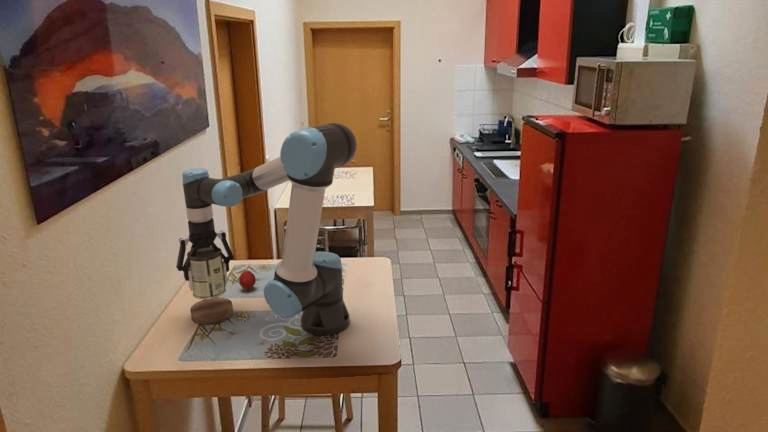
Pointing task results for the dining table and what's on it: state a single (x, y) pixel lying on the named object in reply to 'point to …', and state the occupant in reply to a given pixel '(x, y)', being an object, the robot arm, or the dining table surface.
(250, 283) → the red bumpy fruit
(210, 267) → the coffee can
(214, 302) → the pedestal
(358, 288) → the dining table surface
